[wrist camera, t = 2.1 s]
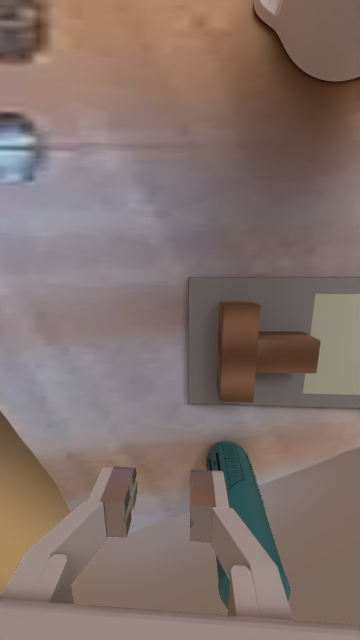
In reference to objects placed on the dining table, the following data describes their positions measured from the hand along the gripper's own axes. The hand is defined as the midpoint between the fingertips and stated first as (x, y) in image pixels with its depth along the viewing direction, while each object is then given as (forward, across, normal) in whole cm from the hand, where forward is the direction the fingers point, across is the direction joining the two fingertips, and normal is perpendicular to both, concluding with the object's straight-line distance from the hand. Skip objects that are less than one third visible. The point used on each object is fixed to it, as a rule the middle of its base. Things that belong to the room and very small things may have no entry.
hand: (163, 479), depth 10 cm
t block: (+20, -10, 0) cm, 23 cm away
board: (+21, -16, 0) cm, 26 cm away
